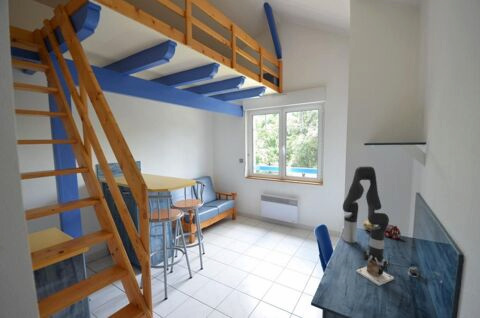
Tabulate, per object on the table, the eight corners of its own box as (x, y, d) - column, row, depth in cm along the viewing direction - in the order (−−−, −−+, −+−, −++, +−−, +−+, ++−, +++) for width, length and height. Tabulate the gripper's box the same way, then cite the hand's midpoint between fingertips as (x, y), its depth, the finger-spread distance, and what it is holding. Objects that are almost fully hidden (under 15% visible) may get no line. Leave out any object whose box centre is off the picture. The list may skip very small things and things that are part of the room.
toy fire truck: (399, 240, 176) (400, 228, 175) (382, 235, 184) (382, 224, 184) (400, 237, 181) (401, 226, 180) (383, 233, 189) (384, 222, 189)
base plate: (356, 271, 132) (356, 267, 132) (370, 266, 138) (371, 261, 138) (379, 285, 120) (379, 280, 120) (393, 279, 126) (394, 274, 125)
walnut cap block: (366, 271, 130) (367, 262, 130) (372, 268, 133) (373, 259, 132) (376, 276, 125) (377, 267, 125) (382, 274, 128) (383, 264, 127)
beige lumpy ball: (361, 231, 193) (362, 220, 192) (363, 227, 202) (364, 216, 201) (374, 234, 187) (375, 222, 186) (375, 230, 196) (376, 219, 195)
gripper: (361, 241, 132) (359, 266, 134) (385, 252, 119) (383, 280, 121) (368, 239, 136) (367, 263, 137) (392, 249, 123) (391, 276, 124)
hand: (374, 271), depth 129 cm, fingers closed on walnut cap block, 6 cm apart
